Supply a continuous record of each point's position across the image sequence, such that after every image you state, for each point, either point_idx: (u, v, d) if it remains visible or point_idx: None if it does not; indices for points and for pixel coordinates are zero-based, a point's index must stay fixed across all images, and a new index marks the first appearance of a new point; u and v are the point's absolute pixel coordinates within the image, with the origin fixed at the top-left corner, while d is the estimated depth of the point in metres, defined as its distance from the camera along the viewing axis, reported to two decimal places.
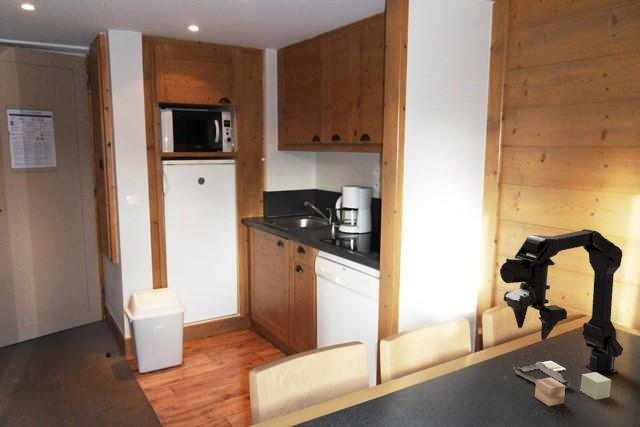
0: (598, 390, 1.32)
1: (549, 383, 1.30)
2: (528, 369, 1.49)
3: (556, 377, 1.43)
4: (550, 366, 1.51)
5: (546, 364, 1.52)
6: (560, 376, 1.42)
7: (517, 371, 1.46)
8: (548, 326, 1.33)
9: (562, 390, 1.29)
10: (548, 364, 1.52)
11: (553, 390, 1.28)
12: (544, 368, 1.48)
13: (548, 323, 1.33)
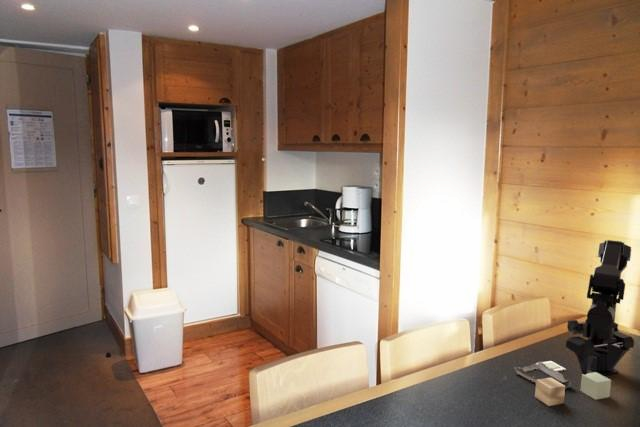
0: (598, 390, 1.32)
1: (549, 383, 1.31)
2: (529, 369, 1.49)
3: (557, 377, 1.43)
4: (550, 366, 1.51)
5: (546, 364, 1.52)
6: (561, 376, 1.42)
7: (518, 371, 1.46)
8: (582, 360, 1.32)
9: (562, 390, 1.29)
10: (548, 364, 1.52)
11: (553, 390, 1.28)
12: (545, 368, 1.48)
13: (582, 357, 1.32)
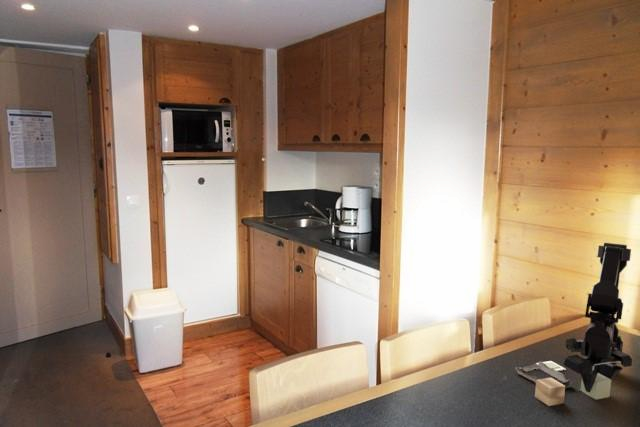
0: (598, 389, 1.32)
1: (549, 383, 1.31)
2: (529, 369, 1.49)
3: (558, 377, 1.43)
4: (550, 366, 1.51)
5: (546, 364, 1.52)
6: (562, 376, 1.42)
7: (519, 371, 1.46)
8: (586, 378, 1.33)
9: (562, 390, 1.29)
10: (548, 364, 1.52)
11: (553, 390, 1.28)
12: (545, 368, 1.48)
13: (586, 374, 1.33)
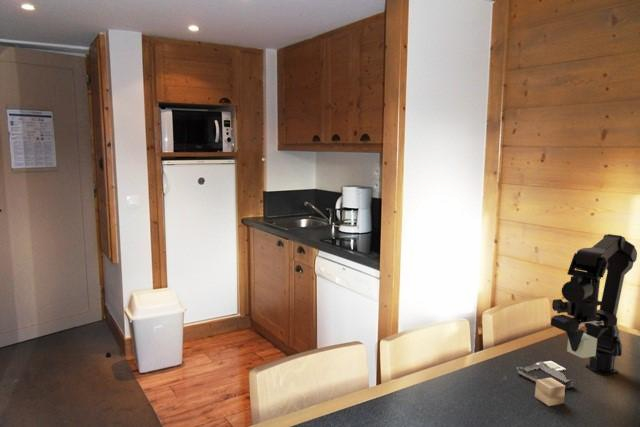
0: (585, 348, 1.33)
1: (549, 383, 1.31)
2: (530, 369, 1.49)
3: (559, 377, 1.44)
4: (550, 366, 1.51)
5: None
6: (563, 376, 1.42)
7: (520, 371, 1.46)
8: (572, 337, 1.34)
9: (562, 390, 1.29)
10: (548, 364, 1.52)
11: (553, 390, 1.28)
12: (546, 368, 1.48)
13: (572, 334, 1.34)
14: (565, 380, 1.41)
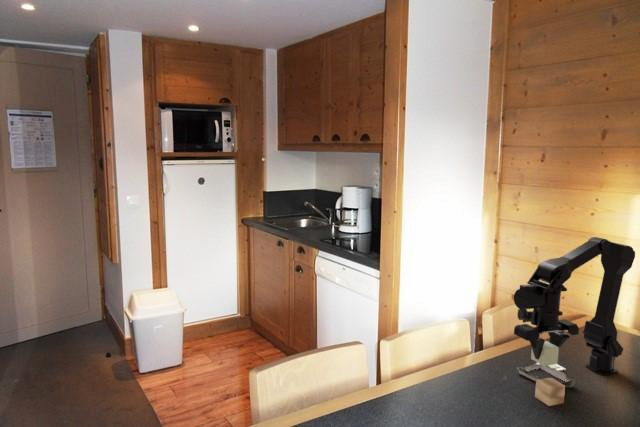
0: (546, 356, 1.39)
1: (549, 383, 1.31)
2: (531, 369, 1.49)
3: (560, 376, 1.44)
4: (550, 366, 1.51)
5: None
6: (564, 376, 1.42)
7: (520, 371, 1.46)
8: (535, 345, 1.40)
9: (562, 390, 1.29)
10: None
11: (553, 390, 1.28)
12: (547, 368, 1.48)
13: (535, 342, 1.40)
14: (566, 380, 1.42)
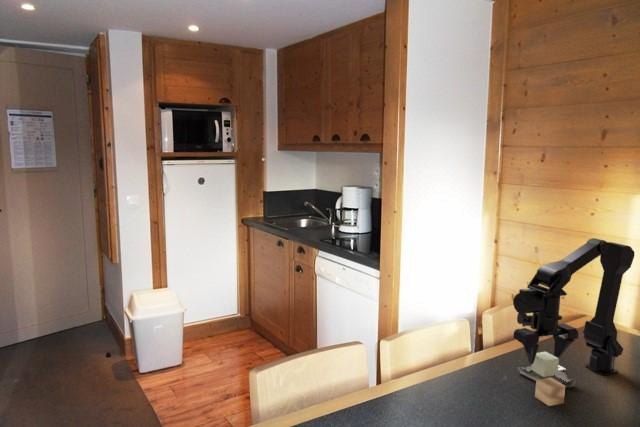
0: (546, 367, 1.40)
1: (549, 383, 1.30)
2: None
3: (560, 376, 1.44)
4: None
5: None
6: (564, 376, 1.43)
7: (521, 371, 1.46)
8: (529, 350, 1.40)
9: (562, 390, 1.29)
10: None
11: (553, 390, 1.28)
12: None
13: (529, 347, 1.40)
14: (567, 380, 1.42)
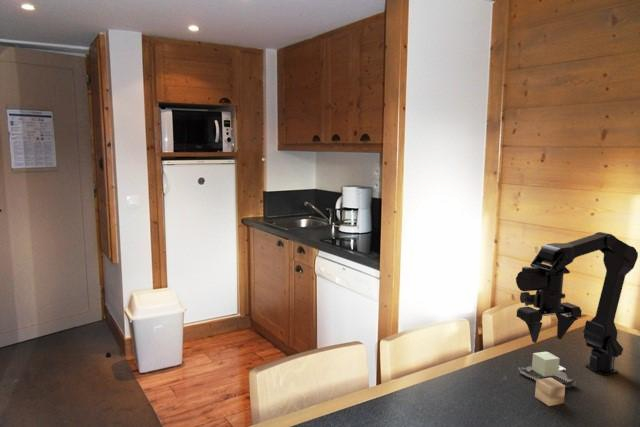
0: (547, 367, 1.40)
1: (549, 383, 1.30)
2: None
3: (561, 377, 1.44)
4: None
5: None
6: (565, 376, 1.43)
7: (522, 371, 1.46)
8: (532, 328, 1.39)
9: (562, 390, 1.29)
10: None
11: (553, 390, 1.28)
12: None
13: (532, 325, 1.39)
14: (567, 380, 1.42)
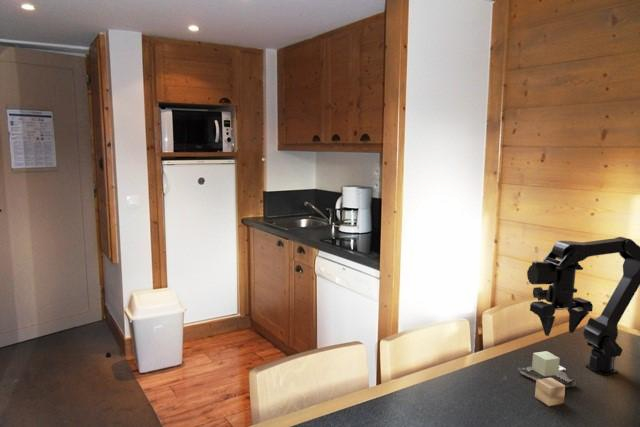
0: (547, 367, 1.40)
1: (549, 383, 1.31)
2: (532, 369, 1.49)
3: (561, 376, 1.44)
4: None
5: None
6: (565, 376, 1.43)
7: (522, 372, 1.46)
8: (545, 322, 1.44)
9: (562, 390, 1.29)
10: None
11: (553, 390, 1.28)
12: None
13: (545, 319, 1.44)
14: (567, 380, 1.42)
